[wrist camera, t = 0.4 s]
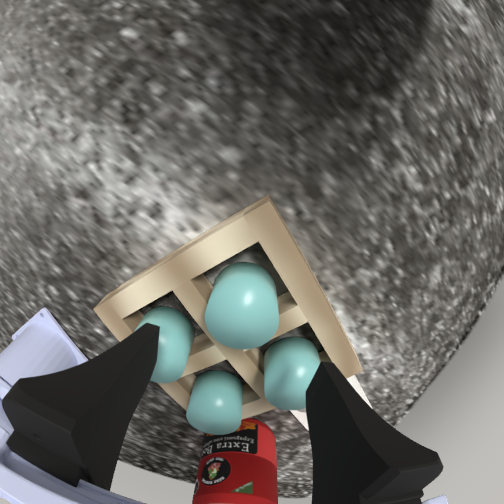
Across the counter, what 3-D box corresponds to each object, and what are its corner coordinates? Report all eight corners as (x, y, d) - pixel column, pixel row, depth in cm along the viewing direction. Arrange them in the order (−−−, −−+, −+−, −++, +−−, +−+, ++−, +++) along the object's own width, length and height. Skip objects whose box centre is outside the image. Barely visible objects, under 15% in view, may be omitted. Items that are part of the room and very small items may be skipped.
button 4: (235, 326, 20) (230, 359, 17) (201, 280, 19) (190, 308, 15) (287, 300, 19) (292, 331, 16) (255, 250, 18) (254, 273, 15)
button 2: (164, 358, 21) (152, 389, 18) (131, 319, 20) (113, 347, 17) (205, 340, 20) (197, 372, 17) (172, 297, 19) (156, 325, 16)
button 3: (280, 383, 22) (282, 416, 18) (254, 351, 20) (252, 384, 17) (326, 363, 21) (335, 395, 18) (304, 327, 20) (311, 360, 16)
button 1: (213, 408, 23) (207, 438, 20) (184, 379, 22) (175, 410, 18) (252, 394, 22) (251, 427, 19) (225, 363, 21) (220, 396, 18)
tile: (310, 431, 27) (311, 435, 26) (281, 397, 25) (281, 402, 24) (371, 405, 26) (372, 409, 25) (350, 367, 24) (352, 371, 23)
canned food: (254, 406, 26) (251, 506, 15) (287, 443, 28) (292, 526, 17) (190, 423, 27) (171, 510, 17) (228, 457, 29) (221, 533, 19)
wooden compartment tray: (210, 410, 26) (207, 429, 24) (107, 294, 22) (93, 309, 20) (355, 351, 23) (363, 370, 21) (268, 194, 19) (269, 200, 17)
